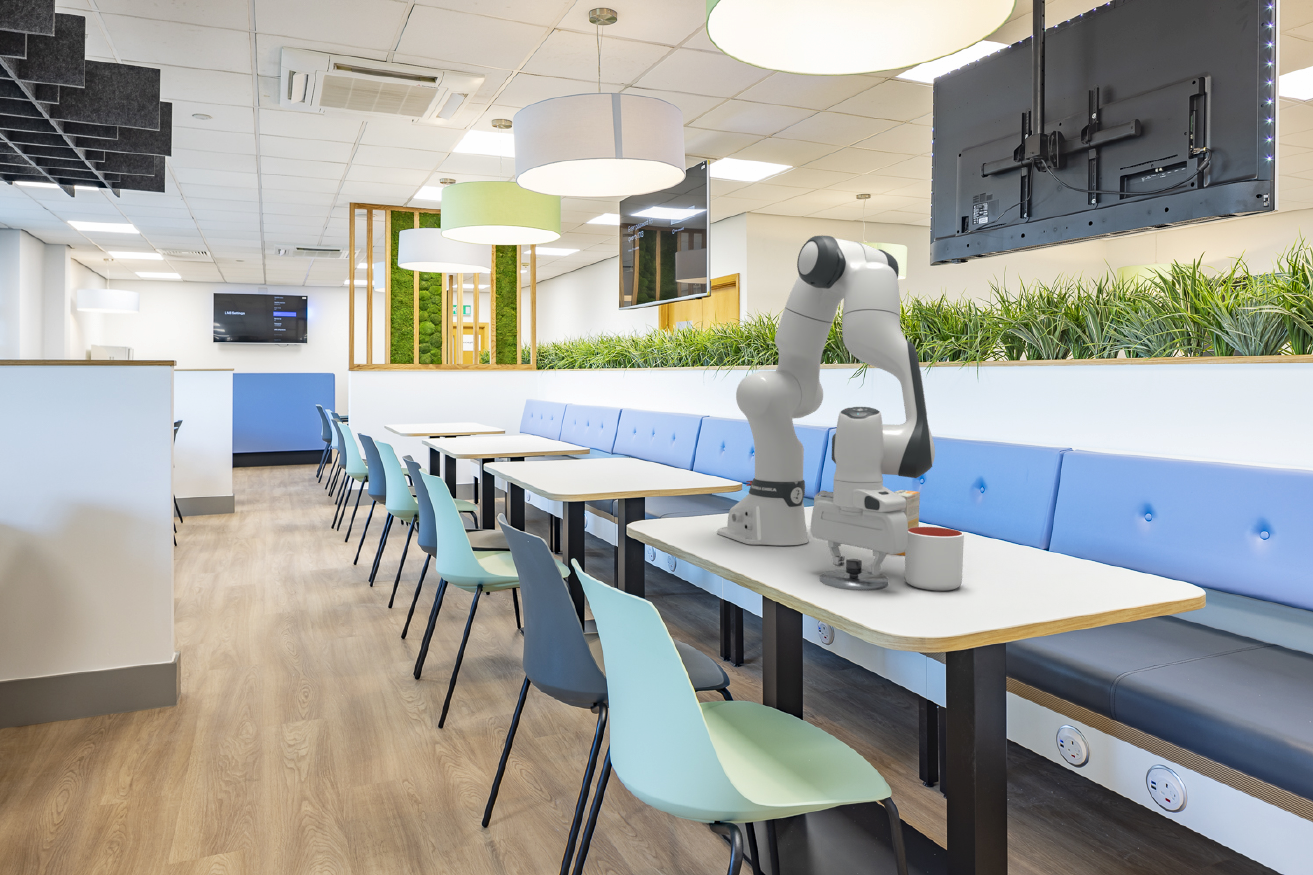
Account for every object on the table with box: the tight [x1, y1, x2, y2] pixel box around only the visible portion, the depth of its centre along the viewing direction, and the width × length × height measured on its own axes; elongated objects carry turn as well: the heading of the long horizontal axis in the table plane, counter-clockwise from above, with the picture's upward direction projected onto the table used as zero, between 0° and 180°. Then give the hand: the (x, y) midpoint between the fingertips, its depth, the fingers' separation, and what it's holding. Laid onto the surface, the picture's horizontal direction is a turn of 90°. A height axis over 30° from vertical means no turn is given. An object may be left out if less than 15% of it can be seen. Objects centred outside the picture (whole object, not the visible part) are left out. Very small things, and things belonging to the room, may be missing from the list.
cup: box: [904, 526, 965, 592], centre depth 153 cm, size 10×10×10 cm
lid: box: [819, 558, 889, 591], centre depth 155 cm, size 12×12×4 cm
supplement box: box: [886, 489, 921, 557], centre depth 183 cm, size 8×5×13 cm, turn 144°
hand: (855, 569), depth 155 cm, fingers open, 7 cm apart
